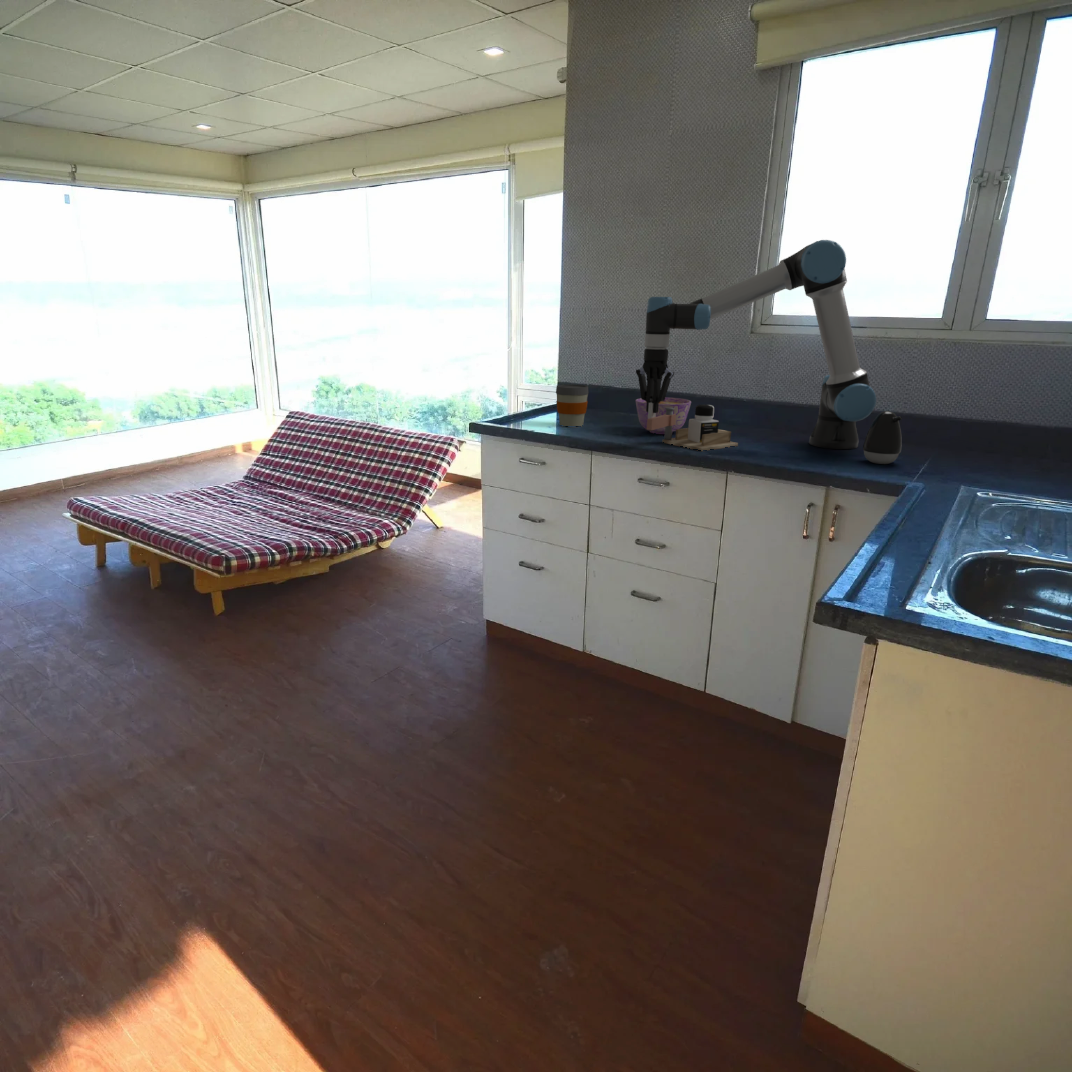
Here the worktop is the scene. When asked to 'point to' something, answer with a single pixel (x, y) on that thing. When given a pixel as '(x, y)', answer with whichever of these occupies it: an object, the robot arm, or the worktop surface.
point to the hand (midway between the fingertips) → (651, 422)
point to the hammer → (663, 422)
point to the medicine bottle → (702, 423)
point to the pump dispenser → (883, 439)
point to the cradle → (708, 440)
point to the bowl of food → (679, 407)
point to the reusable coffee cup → (571, 404)
